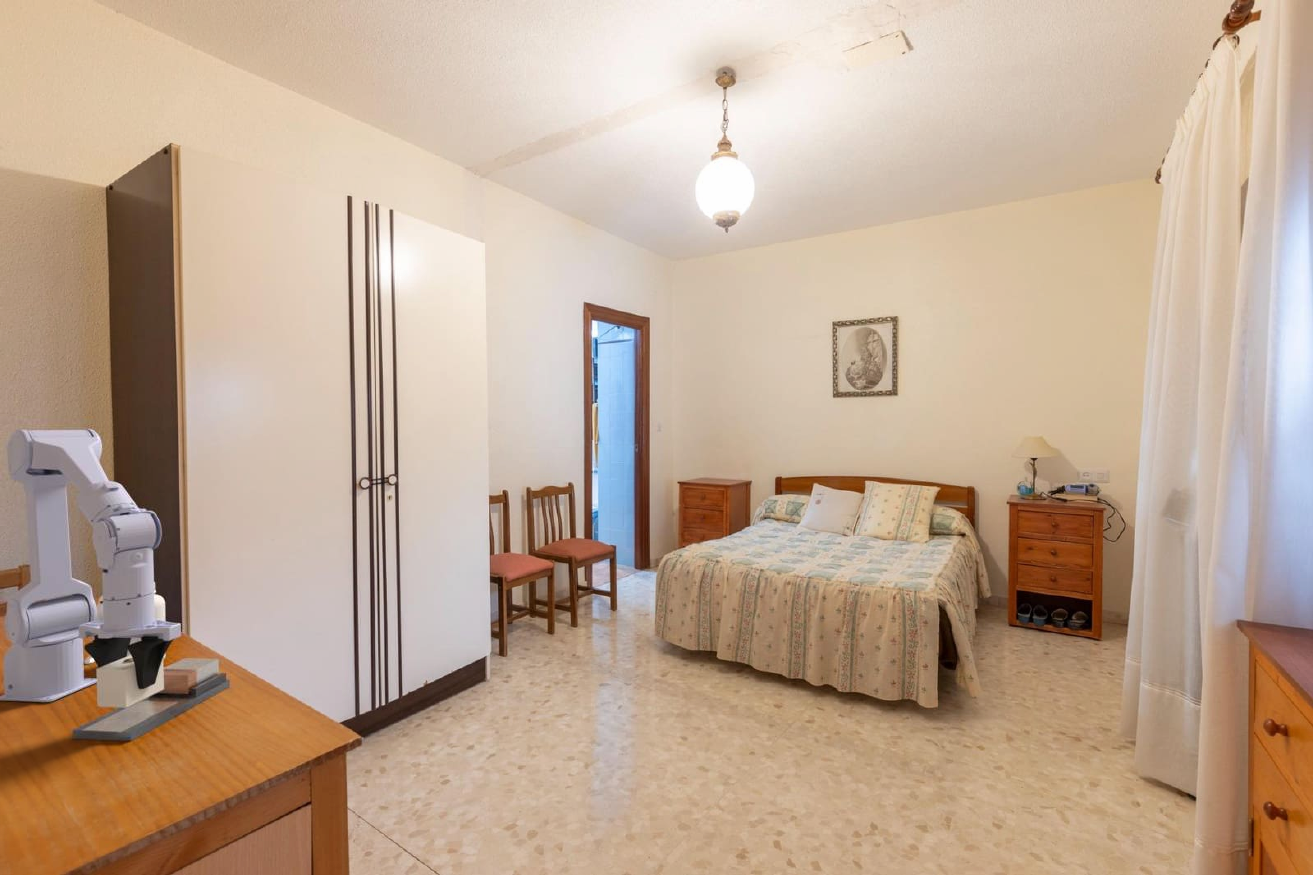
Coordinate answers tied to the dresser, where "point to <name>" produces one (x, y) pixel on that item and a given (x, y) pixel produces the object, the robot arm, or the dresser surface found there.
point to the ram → (188, 674)
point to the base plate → (148, 713)
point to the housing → (123, 684)
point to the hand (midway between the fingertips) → (131, 685)
